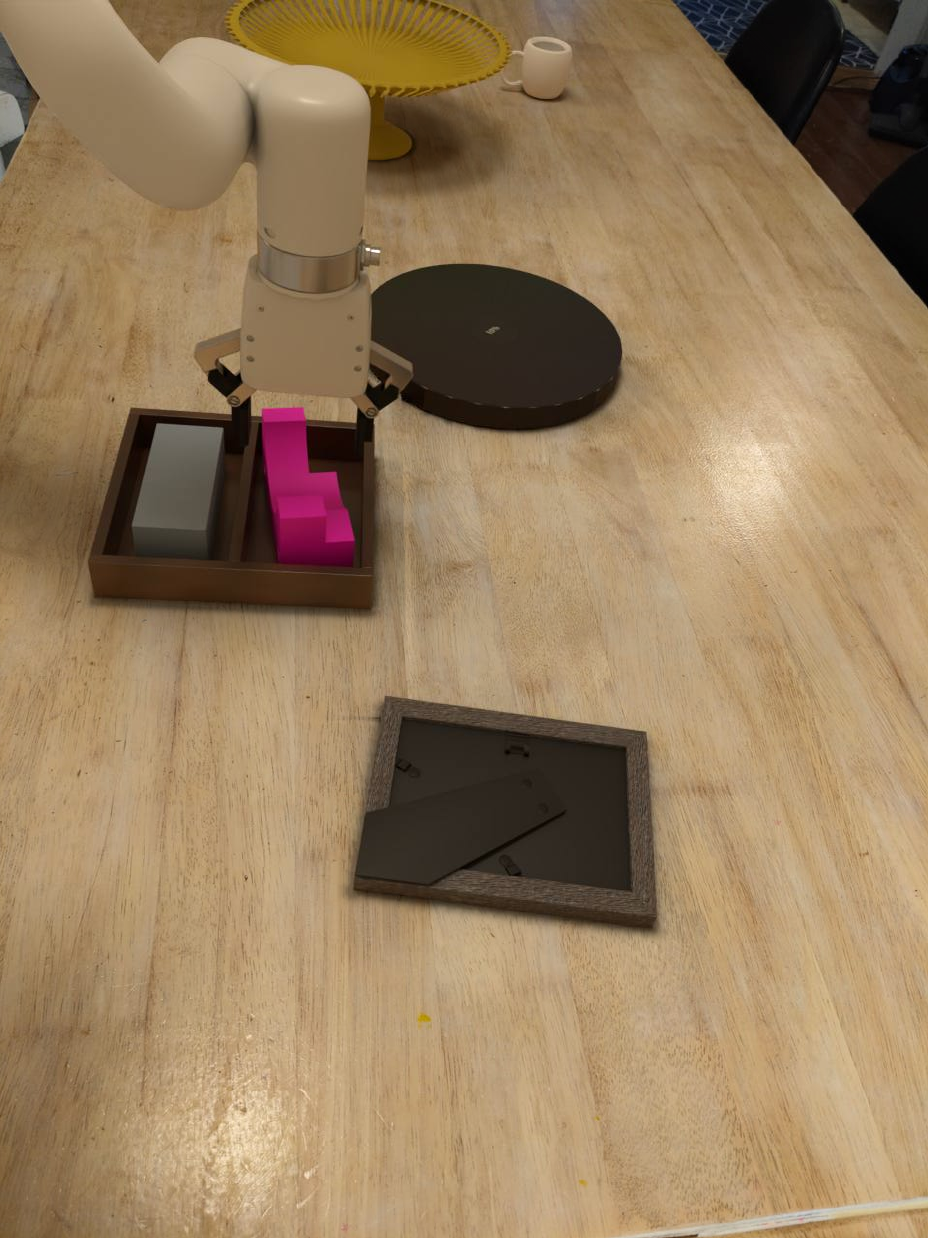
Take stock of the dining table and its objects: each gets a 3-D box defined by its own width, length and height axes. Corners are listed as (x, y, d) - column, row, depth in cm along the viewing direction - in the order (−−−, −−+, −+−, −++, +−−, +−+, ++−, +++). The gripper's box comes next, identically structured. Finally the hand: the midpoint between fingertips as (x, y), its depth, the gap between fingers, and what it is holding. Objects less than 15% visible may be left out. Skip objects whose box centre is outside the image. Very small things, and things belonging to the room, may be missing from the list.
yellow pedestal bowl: (174, 111, 153) (165, -1, 142) (384, 71, 174) (390, -30, 163) (341, 227, 135) (345, 109, 124) (552, 166, 156) (571, 60, 145)
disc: (434, 259, 132) (436, 237, 130) (650, 337, 126) (657, 315, 123) (310, 366, 113) (310, 342, 110) (558, 465, 106) (564, 442, 104)
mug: (559, 85, 179) (568, 36, 174) (570, 105, 174) (579, 55, 168) (492, 80, 177) (499, 30, 171) (501, 100, 171) (508, 49, 166)
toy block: (352, 577, 91) (356, 513, 85) (280, 583, 89) (280, 518, 84) (328, 469, 100) (330, 406, 95) (263, 472, 99) (261, 408, 93)
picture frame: (353, 888, 71) (651, 927, 72) (354, 874, 69) (658, 914, 70) (383, 707, 82) (641, 743, 83) (385, 692, 80) (647, 728, 81)
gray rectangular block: (138, 569, 88) (131, 525, 84) (161, 465, 98) (156, 422, 94) (209, 572, 89) (205, 529, 85) (226, 469, 98) (223, 427, 95)
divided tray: (95, 601, 86) (87, 562, 82) (135, 445, 100) (130, 406, 97) (370, 613, 89) (373, 576, 85) (372, 460, 103) (374, 423, 100)
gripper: (424, 243, 79) (402, 423, 92) (194, 218, 77) (204, 406, 89) (427, 294, 74) (403, 477, 86) (181, 268, 72) (193, 461, 84)
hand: (302, 441), depth 88 cm, fingers open, 9 cm apart
